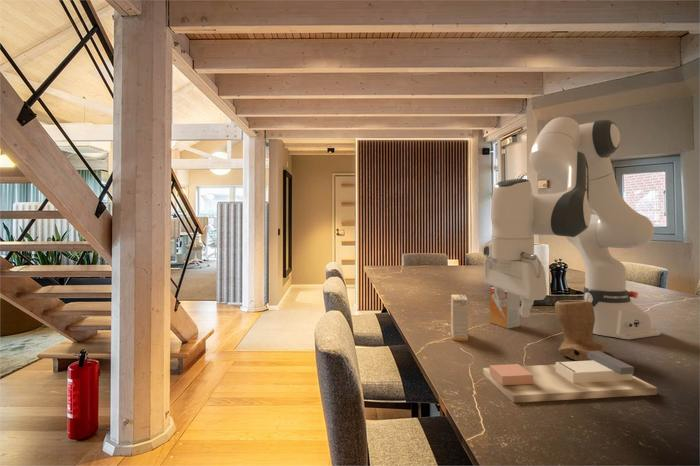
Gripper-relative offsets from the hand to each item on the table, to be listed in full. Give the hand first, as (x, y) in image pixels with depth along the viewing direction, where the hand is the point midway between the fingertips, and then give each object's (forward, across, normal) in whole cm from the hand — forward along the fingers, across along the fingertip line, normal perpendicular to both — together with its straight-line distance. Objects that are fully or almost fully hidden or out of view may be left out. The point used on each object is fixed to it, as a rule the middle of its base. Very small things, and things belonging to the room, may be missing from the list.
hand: (512, 311), depth 83 cm
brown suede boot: (+18, +16, -28) cm, 36 cm away
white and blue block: (+16, -1, -19) cm, 24 cm away
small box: (+18, +45, -22) cm, 53 cm away
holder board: (+17, -1, -12) cm, 21 cm away
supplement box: (+17, +34, -1) cm, 38 cm away
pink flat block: (+15, -1, +1) cm, 15 cm away
